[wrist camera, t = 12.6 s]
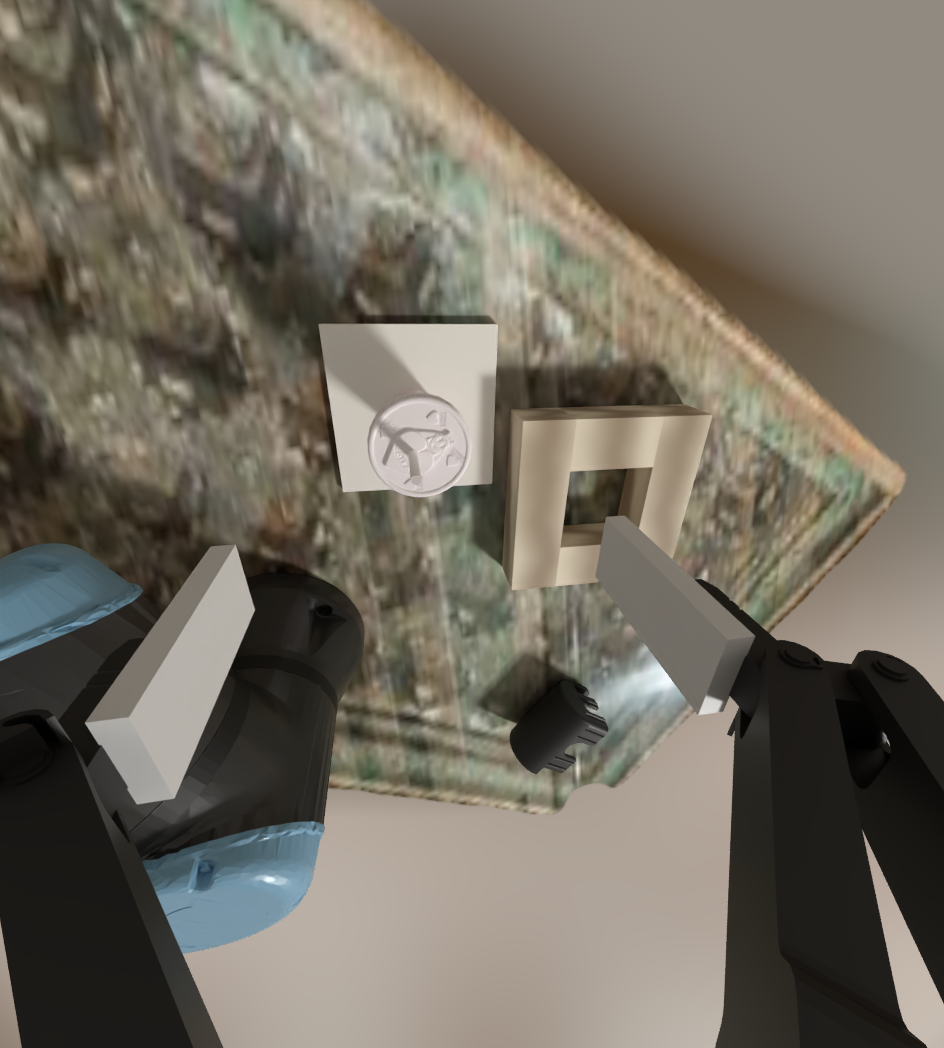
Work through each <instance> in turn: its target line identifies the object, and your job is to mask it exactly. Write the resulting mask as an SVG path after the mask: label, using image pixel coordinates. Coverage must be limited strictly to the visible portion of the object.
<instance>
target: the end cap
mask: <svg viewBox="0 0 944 1048" xmlns="http://www.w3.org/2000/svg"><path fill="white" fill-rule="evenodd" d="M588 695H589V691H588V689H587V688H585V687H583V686H581V685H579V684H576V683H574V682H572V681H570V680H567V679H563V680H562V681H560V682H559V683H558V684H557V685H556V686H555V687H554V688H553V689H552V690H551V691H550V692H549V693H548V694H547V695H546V696H545V697H544V698H543V699H542V700H541V701H540V702H539V703H538V704H537V705H536V706H535V707H534V708H533V709H532V710H531V711H530V712H529V713H528V714H527V715H526V716H525V717H524V718H523V719H522V720H521V721H520V722H519V723H518V724H517V725H516V726H515V727H514V728H513V729H512V731H511V733H510V744H511V747H512V750H513V752H514V754H515V756H516V758H517V759H518V760H519V762H520V763H521V764H522V765H523V766H524V767H525V768H526V769H527V770H529V771H530V772H532V773H535V774H537V773H538V772H539V771H540V770H541V769H542V768H548V769H551V770H554V771H557V772H560V773H563V772H564V771H566V769H567V768H569V767H570V766H571V765H573V763H574V762H575V761H576V758H575V757H573V756H570V755H568V754H565V753H564V752H565V750H566V748H567V747H569V746H570V745H572V744H575V743H585V744H587V745H590V746H593V745H595V744H596V743H597V742H598V741H599V740H600V739H601V738H603V737H604V736H605V735H606V734H607V732H608V726H607V724H606V721H605V719H604V718H603V717H601V716H598V715H596V714H593V713H591V712H589V711H588V710H587V709H586V707H589V708H592V709H594V710H596V711H597V710H598V709H599V708H598V705H597V703H596V702H595V700H594V699H592V698H589V697H587V696H588Z"/></svg>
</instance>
